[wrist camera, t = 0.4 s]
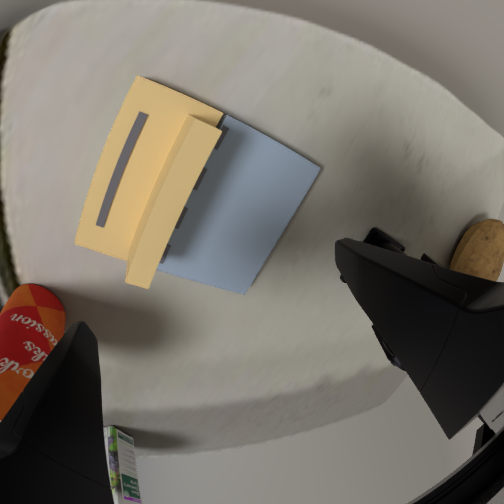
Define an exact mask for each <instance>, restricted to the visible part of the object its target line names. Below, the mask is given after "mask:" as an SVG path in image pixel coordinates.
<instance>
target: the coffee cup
mask: <svg viewBox="0 0 504 504" xmlns="http://www.w3.org/2000/svg"><path fill="white" fill-rule="evenodd" d="M65 321H66V314H65V310H64V307H63V305H62V303H61V302H60V300H59V299H58V298H57V297H56V296H55V295H54V294H53V293H52V292H51V291H49V290H48V289H46V288H44V287H42V286H39V285H36V284H23V285H21V286H19V287H18V288H16V289H15V291H14V292H13V293H12V295H11V296H10V298H9V300H8V301H7V303H6V304H5V306H4V308H3V310H2V311H1V313H0V422H1V421H2V419H3V418H4V416H5V415H6V414H7V412H8V411H9V410H10V408H11V407H12V405H13V404H14V402H15V401H16V399H17V398H18V396H19V395H20V393H21V392H23V389H24V388H25V386H26V385H27V383H28V382H29V381H30V379H31V378H32V376H33V375H34V374H35V372H36V371H37V369H38V368H39V367H40V365H41V364H42V363H43V361H44V360H45V359H46V357H47V356H48V355H49V353H50V352H51V351H52V349H53V348H54V347H55V345H56V344H57V343H58V342H59V340H60V339H61V338H62V337H63V335H64V330H65Z"/></svg>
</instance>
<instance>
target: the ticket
mask: <svg viewBox="0 0 504 504" xmlns="http://www.w3.org/2000/svg"><path fill="white" fill-rule="evenodd" d="M216 128H218V129H220V130H221V131H222V133H221V135H220V137H219V139H218V140H217V142H216V144H215V146H214V148H213V150H212V152H211V154H210V156H209V157H208V159H207V161H206V163H205V165H204V167H203V169H202V171H201V173H200V175H199V177H198V179H197V181H196V183H195V185H194V187H193V189H192V191H191V193H190V195H189V197H188V200H187V202H186V204H185V206H184V208H183V210H182V212H181V214H180V217H179V219H178V221H177V223H176V225H175V228H174V230H173V232H172V234H171V236H170V239H169V241H168V243H167V246H166V248H165V250H164V252H163V255H162V257H161V259H160V262H159V264H158V267H157V269H156V270H158V271H162V272H165V273H168V274H172V275H175V276H179V277H182V278H186V279H189V280H192V281H196V282H199V283H203V284H207V285H210V286H214V287H217V288H221V289H225V290H228V291H232V292H236V293H239V294H243V295H245V293H246V291H247V290H248V288H249V287H250V285H251V283H252V282H253V280H254V279H255V277H256V275H257V274H258V272H259V270H260V269H261V267H262V266H263V264H264V262H265V261H266V259H267V257H268V256H269V254H270V252H271V251H272V249H273V248H274V246H275V244H276V243H277V241H278V239H279V238H280V236H281V234H282V233H283V231H284V229H285V228H286V226H287V224H288V223H289V221H290V219H291V218H292V216H293V214H294V213H295V211H296V210H297V208H298V206H299V205H300V203H301V201H302V199H303V198H304V196H305V194H306V193H307V191H308V189H309V188H310V186H311V184H312V183H313V181H314V179H315V178H316V176H317V174H318V173H319V171H320V169H321V168H320V167H318V166H317V165H315V164H313V163H312V162H310V161H309V160H307V159H305V158H304V157H302V156H300V155H299V154H297V153H295V152H294V151H292V150H290V149H289V148H287V147H285V146H284V145H282V144H280V143H278V142H277V141H275V140H273V139H271V138H269V137H268V136H266V135H264V134H262V133H260V132H259V131H257V130H255V129H253V128H251V127H249V126H247V125H246V124H244V123H242V122H240V121H238V120H236V119H234V118H232V117H230V116H228V115H225V114H223V115H222V117H221V119H220V120H219V122H218V124H217V126H216Z"/></svg>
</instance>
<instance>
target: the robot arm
mask: <svg viewBox="0 0 504 504" xmlns="http://www.w3.org/2000/svg"><path fill="white" fill-rule="evenodd" d="M375 232H376V233H375ZM404 251H405V247H404V246H403V245H401V244H400V243H398V242H397V241H395V240H394V239H393V238H391V237H390V236H388V235H387V234H385V233H384V232H382V231H380V230H379V229H377V228H373V229H372V230H371V231H370V233H369V234H368V236H367V238H366V239H365V241H364V242H359V241H356V240H353V239H349V238H344V239H341V240H338V241H336V242H335V262H336V266H337V268H338V269H339V271H340V273H341V276H340V279H341V280H342V282H344V283H347V285H348V287H349V288H350V290H351V292H352V294H353V295H354V297H355V299H356V300H357V302H358V303H359V305H360V306H361V307H362V309H363V310H364V312H365V313H366V314H367V316H368V317H369V319H370V320H371V321H372V323H373V325H372V328H373V330H374V332H375V335H376V337H377V339H378V341H379V343H380V344H381V346H382V348H383V350H384V352H385V354H386V356H387V358H388V360H389V361H391V364H392V365H394V366H397V367H399V368H400V369H402V370H404V371H406V372H407V374H408V375H409V377H410V378H411V380H412V381H413V383H414V384H415V386H416V387H417V389H418V390H419V392H420V394H421V395H422V397H423V398H424V400H425V402H426V403H427V405H428V406H429V408H430V409H431V411H432V413H433V414H434V416H435V418H436V419H437V421H438V423H439V424H440V426H441V428H442V429H443V431H444V433H445V434H446V436H447V437H448V439H451V438H452V437H454V436H455V435H456V434H457V433H459V432H460V431H461V430H462V429H463V428H465V427H466V426H467V425H468V424H469V423H471V422H472V421H473V420H474V419H475V418H476V417H477V416H478V417H479V419H480V420H481V421H482V422H483V423H484V424H483V425H482V426H481V427H480V428H479V429H478V430H477V433H476V438H475V444H474V450H473V455H472V457H471V458H469V459H468V460H467V461H466V462H465V463H463V464H462V465H461V466H460V467H459V468H457V469H456V470H455V471H454V472H452V473H451V474H450V475H448V476H447V477H446V478H444V479H443V480H442V481H440V482H439V483H438V484H436V485H435V486H434V487H432V488H430V489H429V490H427V491H426V492H425V493H423V494H422V495H420V496H418V497H417V498H415V499H414V500H412V501H411V502H409V503H407V504H504V282H496V281H492V280H488V279H485V278H481V277H477V276H473V275H469V274H465V273H461V272H458V271H454V270H451V269H448V268H444V267H443V266H441V265H440V264H439V263H437V262H436V261H435V260H433V259H432V258H430V257H429V256H427V255H426V254H425V253H424V254H423V255H422V257H421V260H419V259H416V258H413V257H410V256H408V255H406V254H405V253H404ZM0 504H114V499H113V494H112V489H111V484H110V478H109V472H108V465H107V457H106V449H105V440H104V429H103V415H102V395H101V374H100V365H99V355H98V343H97V339H96V337H95V335H94V334H93V332H92V331H91V330H90V328H89V327H88V325H87V324H86V323H85V322H84V321H79V322H75V323H73V324H72V325H71V327H70V328H69V329H68V330H67V331H66V333H65V334H64V335H63V337H62V338H61V339H60V340H59V342H58V343H57V344H56V345H55V347H54V348H53V349H52V351H51V352H50V353H49V355H48V356H47V357H46V359H45V360H44V361H43V363H42V364H41V365H40V367H39V368H38V369H37V371H36V372H35V374H34V375H33V376H32V378H31V379H30V381H29V382H28V383H27V385H26V386H25V388H24V389H23V392H21V393H20V395H19V396H18V398H17V399H16V401H15V402H14V404H13V405H12V407H11V408H10V410H9V411H8V412H7V414H6V415H5V416H4V418H3V419H2V421H1V422H0Z"/></svg>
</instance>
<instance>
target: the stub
mask: <svg viewBox="0 0 504 504" xmlns="http://www.w3.org/2000/svg"><path fill="white" fill-rule="evenodd" d="M222 115H223V113H222V112H220V111H218V110H216V109H214V108H212V107H210V106H208V105H206V104H204V103H201V102H199V101H197V100H195V99H193V98H191V97H188V96H186V95H184V94H182V93H179V92H177V91H175V90H172V89H170V88H168V87H165V86H163V85H160V84H158V83H156V82H153V81H151V80H148V79H145V78H143V77H140V76H138V75H137V77H136V78H135V80H134V82H133V84H132V86H131V88H130V90H129V92H128V94H127V96H126V98H125V100H124V102H123V104H122V106H121V109H120V111H119V113H118V115H117V117H116V120H115V122H114V124H113V127H112V129H111V131H110V134H109V136H108V138H107V141H106V143H105V146H104V149H103V151H102V154H101V156H100V159H99V162H98V165H97V167H96V170H95V173H94V176H93V179H92V182H91V185H90V188H89V191H88V194H87V198H86V201H85V204H84V208H83V211H82V215H81V218H80V222H79V226H78V230H77V234H76V238H75V242H74V244H76V245H79V246H82V247H85V248H88V249H91V250H94V251H97V252H100V253H103V254H106V255H109V256H112V257H116V258H119V259H122V260H125V261H127V269H126V278H125V283H128V284H132V285H135V286H139V287H142V288H146V289H149V286H150V284H151V281H152V279H153V276H154V274H155V271H156V269H157V267H158V264H159V262H160V259H161V257H162V255H163V252H164V250H165V248H166V246H167V243H168V241H169V239H170V236H171V234H172V232H173V230H174V228H175V225H176V223H177V221H178V219H179V217H180V214H181V212H182V210H183V208H184V206H185V204H186V202H187V200H188V197H189V195H190V193H191V191H192V189H193V187H194V185H195V183H196V181H197V179H198V177H199V175H200V173H201V171H202V169H203V167H204V165H205V163H206V161H207V159H208V157H209V156H210V154H211V152H212V150H213V148H214V146H215V144H216V142H217V140H218V139H219V137H220V135H221V133H222V131H221V130H220V129H218V128H216V126H217V124H218V122H219V120H220V119H221V117H222Z"/></svg>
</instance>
